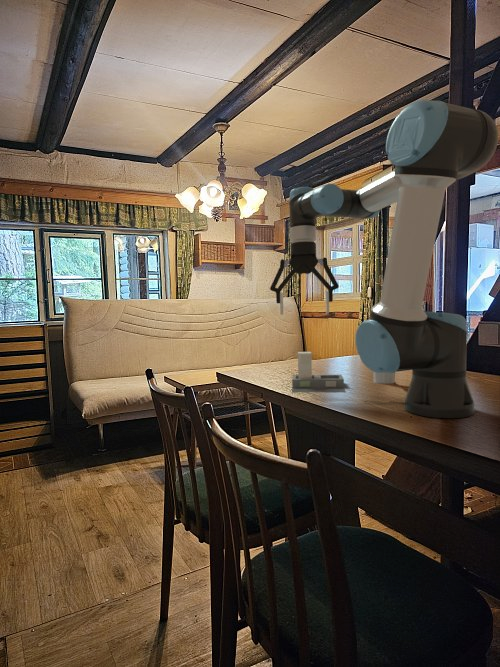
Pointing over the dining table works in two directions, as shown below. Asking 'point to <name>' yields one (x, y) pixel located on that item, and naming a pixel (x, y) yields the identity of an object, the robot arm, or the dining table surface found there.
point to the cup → (383, 378)
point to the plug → (304, 365)
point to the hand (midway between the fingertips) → (304, 314)
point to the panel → (318, 384)
